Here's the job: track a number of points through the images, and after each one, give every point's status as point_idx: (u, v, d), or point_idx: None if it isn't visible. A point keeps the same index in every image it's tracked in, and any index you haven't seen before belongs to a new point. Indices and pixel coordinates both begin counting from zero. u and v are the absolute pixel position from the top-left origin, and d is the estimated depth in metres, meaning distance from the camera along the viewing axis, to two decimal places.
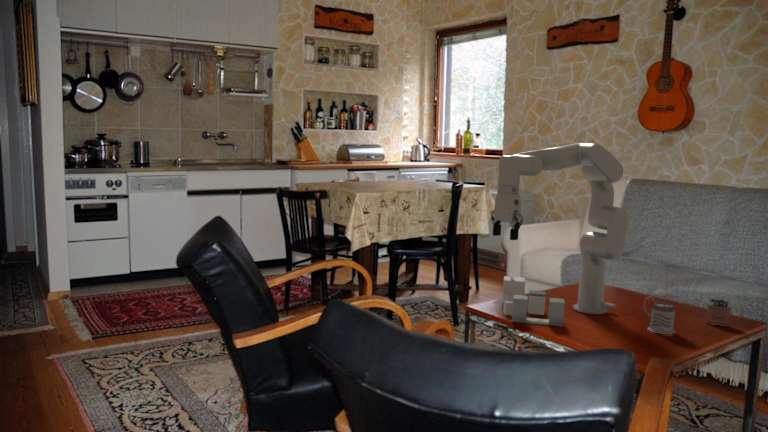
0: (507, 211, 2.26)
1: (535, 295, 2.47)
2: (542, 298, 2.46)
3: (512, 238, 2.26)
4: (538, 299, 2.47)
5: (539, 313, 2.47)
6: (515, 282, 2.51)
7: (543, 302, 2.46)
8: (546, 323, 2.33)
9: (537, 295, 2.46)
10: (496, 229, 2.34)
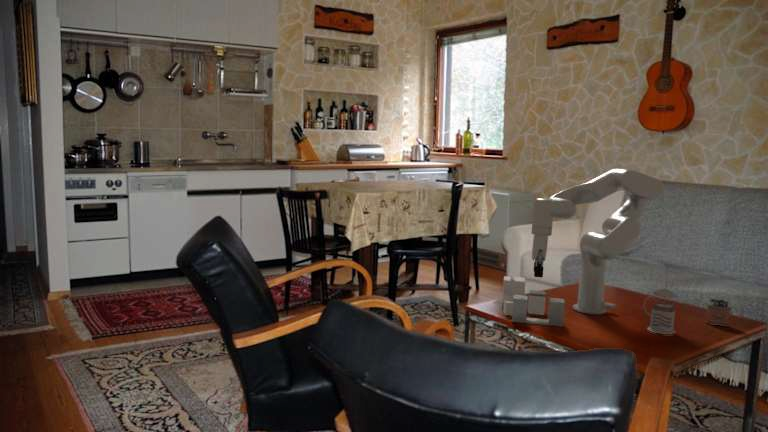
0: None
1: (535, 295, 2.47)
2: (542, 298, 2.46)
3: None
4: (538, 299, 2.47)
5: (539, 313, 2.47)
6: (515, 282, 2.51)
7: (543, 302, 2.46)
8: (546, 323, 2.33)
9: (537, 295, 2.46)
10: None
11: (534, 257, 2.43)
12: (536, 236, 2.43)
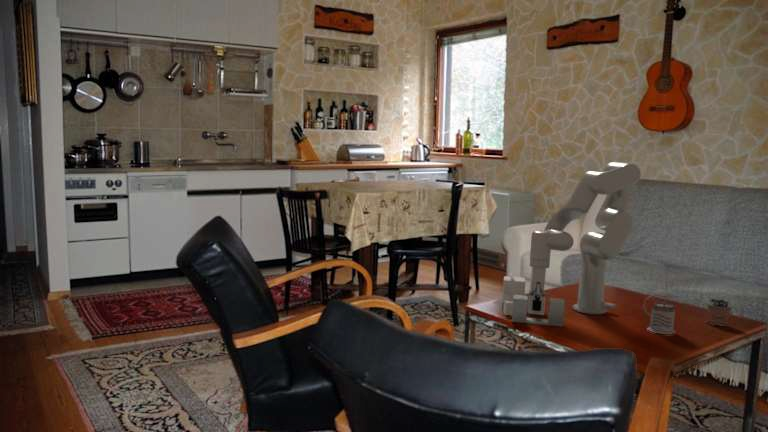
0: None
1: None
2: (542, 298, 2.46)
3: None
4: None
5: (539, 313, 2.47)
6: (515, 282, 2.51)
7: (543, 302, 2.46)
8: (546, 323, 2.33)
9: None
10: None
11: (532, 289, 2.44)
12: (534, 269, 2.44)
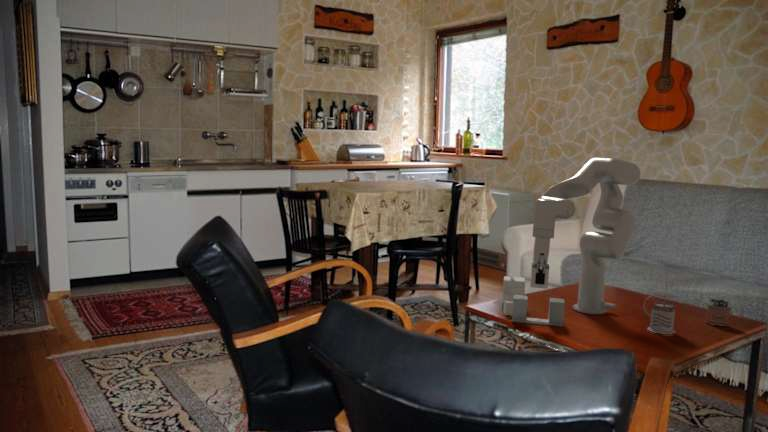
0: None
1: None
2: (545, 270, 2.30)
3: None
4: None
5: (542, 286, 2.31)
6: (515, 282, 2.51)
7: (546, 275, 2.31)
8: (546, 323, 2.33)
9: None
10: None
11: (535, 261, 2.29)
12: (537, 239, 2.28)
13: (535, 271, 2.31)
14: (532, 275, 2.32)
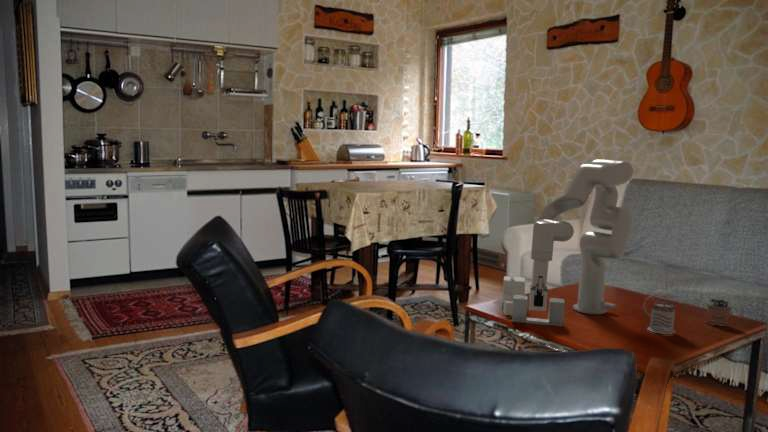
0: None
1: None
2: (544, 293, 2.31)
3: None
4: None
5: (540, 309, 2.32)
6: (515, 282, 2.51)
7: (545, 297, 2.31)
8: (546, 323, 2.33)
9: None
10: None
11: (534, 284, 2.30)
12: (536, 261, 2.29)
13: (534, 293, 2.32)
14: (531, 297, 2.32)
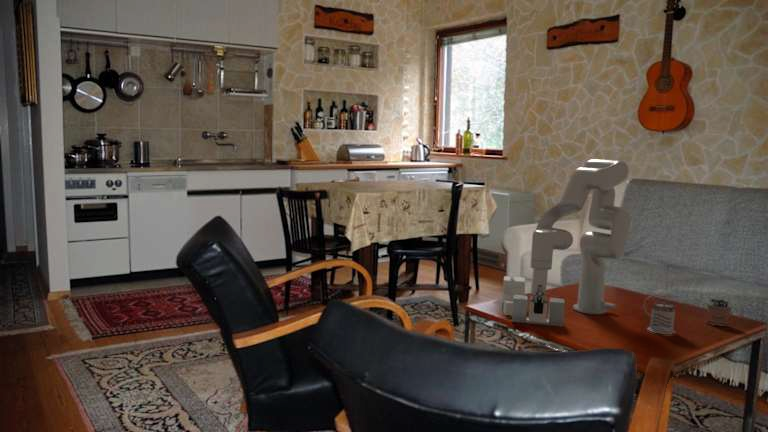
0: None
1: None
2: (543, 305, 2.32)
3: None
4: None
5: (540, 320, 2.33)
6: (515, 282, 2.51)
7: (544, 309, 2.32)
8: (546, 323, 2.33)
9: None
10: None
11: (533, 292, 2.30)
12: (535, 270, 2.30)
13: (533, 305, 2.33)
14: (530, 309, 2.33)
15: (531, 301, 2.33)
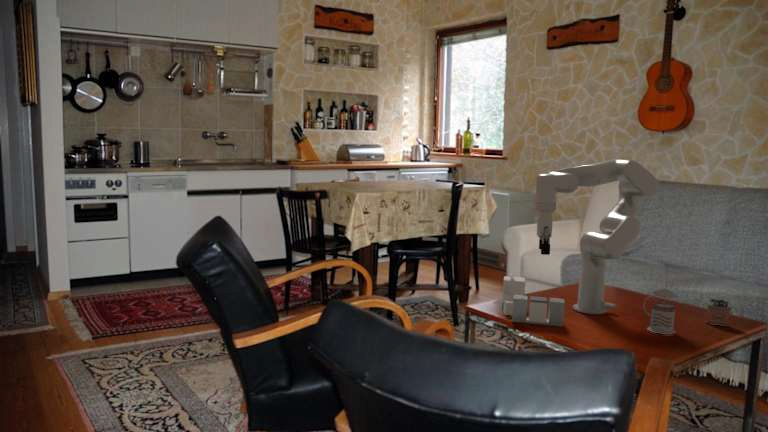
0: None
1: (536, 302, 2.32)
2: (543, 305, 2.32)
3: None
4: (539, 306, 2.32)
5: (540, 320, 2.33)
6: (515, 282, 2.51)
7: (544, 309, 2.32)
8: (546, 323, 2.33)
9: (538, 302, 2.32)
10: None
11: (540, 234, 2.38)
12: (541, 213, 2.37)
13: (533, 305, 2.33)
14: (530, 309, 2.33)
15: (531, 301, 2.33)
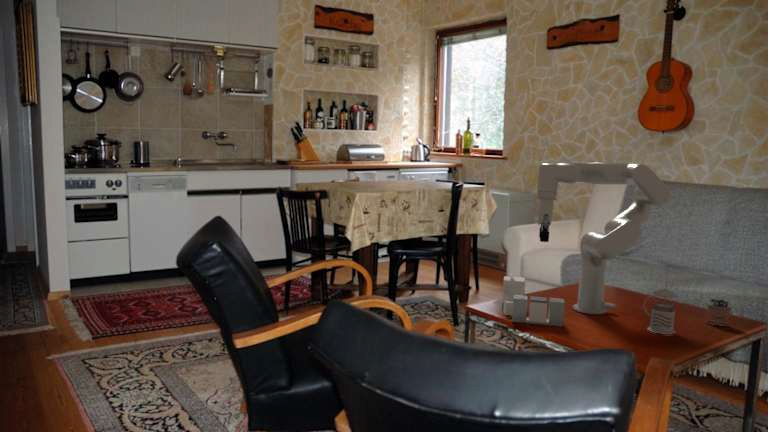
0: None
1: (536, 302, 2.32)
2: (543, 305, 2.32)
3: None
4: (539, 306, 2.32)
5: (540, 320, 2.33)
6: (515, 282, 2.51)
7: (544, 309, 2.32)
8: (546, 323, 2.33)
9: (538, 302, 2.32)
10: None
11: (540, 222, 2.43)
12: (541, 201, 2.43)
13: (533, 305, 2.33)
14: (530, 309, 2.33)
15: (531, 301, 2.33)
